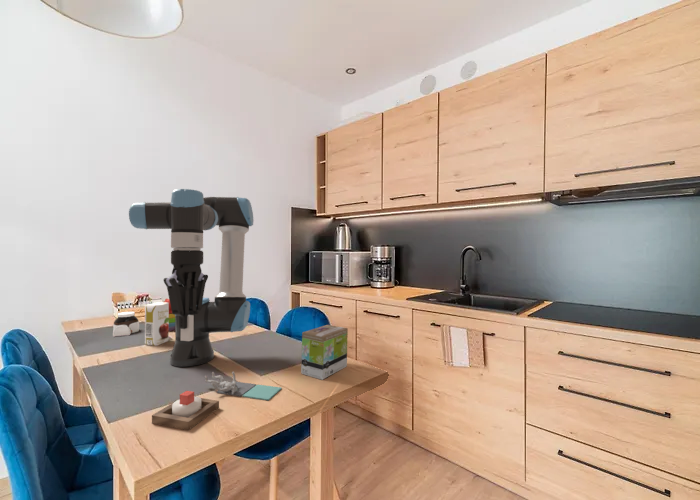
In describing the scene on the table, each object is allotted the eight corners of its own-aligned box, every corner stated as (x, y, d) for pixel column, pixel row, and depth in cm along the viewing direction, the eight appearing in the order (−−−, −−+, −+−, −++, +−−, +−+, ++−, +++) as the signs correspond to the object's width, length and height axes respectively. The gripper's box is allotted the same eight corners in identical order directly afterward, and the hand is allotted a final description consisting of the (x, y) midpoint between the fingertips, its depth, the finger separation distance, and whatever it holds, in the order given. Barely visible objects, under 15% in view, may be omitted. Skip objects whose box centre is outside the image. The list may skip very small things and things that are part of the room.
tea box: (323, 381, 105) (323, 336, 105) (300, 374, 110) (300, 332, 110) (348, 366, 118) (348, 326, 117) (326, 361, 123) (326, 323, 123)
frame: (151, 423, 79) (151, 415, 79) (185, 402, 89) (185, 395, 89) (188, 430, 76) (188, 421, 76) (219, 408, 86) (219, 400, 86)
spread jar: (134, 333, 163) (134, 310, 163) (144, 336, 156) (144, 313, 156) (106, 338, 153) (106, 314, 153) (115, 342, 147) (115, 317, 147)
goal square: (242, 396, 93) (242, 395, 93) (257, 385, 101) (257, 384, 101) (268, 400, 91) (268, 399, 91) (281, 388, 99) (281, 387, 99)
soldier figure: (221, 367, 104) (244, 371, 97) (224, 381, 104) (247, 386, 97) (199, 378, 97) (222, 384, 91) (202, 393, 98) (225, 400, 91)
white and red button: (165, 419, 80) (165, 397, 80) (186, 406, 87) (186, 386, 87) (187, 423, 78) (187, 400, 78) (207, 410, 85) (207, 389, 85)
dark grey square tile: (216, 393, 96) (216, 391, 96) (233, 382, 103) (233, 381, 103) (241, 396, 93) (241, 395, 93) (256, 385, 101) (256, 384, 101)
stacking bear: (186, 332, 164) (186, 298, 164) (166, 337, 156) (166, 301, 156) (174, 329, 170) (174, 296, 170) (154, 334, 161) (154, 299, 161)
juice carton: (141, 348, 138) (141, 304, 138) (156, 342, 146) (156, 301, 146) (157, 349, 137) (157, 305, 137) (171, 343, 145) (171, 302, 145)
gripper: (179, 249, 75) (179, 348, 75) (216, 249, 88) (216, 334, 88) (154, 249, 77) (153, 346, 77) (194, 249, 90) (193, 332, 90)
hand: (187, 340), depth 82 cm, fingers closed
